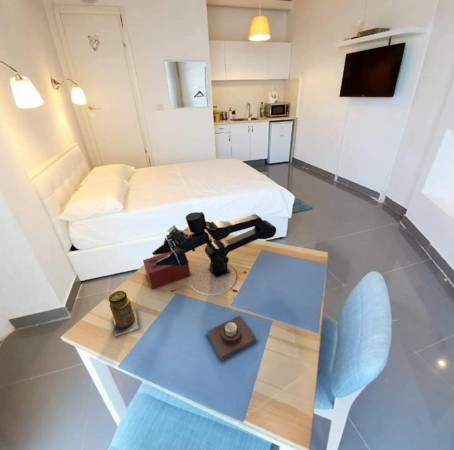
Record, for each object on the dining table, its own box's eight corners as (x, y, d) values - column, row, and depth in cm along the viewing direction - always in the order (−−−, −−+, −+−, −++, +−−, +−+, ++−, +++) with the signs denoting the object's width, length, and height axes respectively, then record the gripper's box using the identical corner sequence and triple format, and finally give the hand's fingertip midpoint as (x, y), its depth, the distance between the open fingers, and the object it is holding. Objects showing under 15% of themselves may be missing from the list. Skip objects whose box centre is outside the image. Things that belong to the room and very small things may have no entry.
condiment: (135, 310, 90) (127, 285, 84) (138, 328, 83) (130, 302, 77) (113, 318, 87) (103, 293, 81) (114, 337, 80) (104, 311, 75)
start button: (233, 324, 79) (233, 320, 78) (239, 333, 77) (238, 328, 76) (223, 329, 78) (222, 325, 77) (228, 338, 75) (228, 334, 74)
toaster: (182, 262, 114) (179, 248, 110) (190, 275, 106) (188, 259, 102) (146, 275, 107) (142, 259, 103) (152, 289, 99) (148, 273, 96)
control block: (239, 320, 85) (239, 311, 83) (256, 342, 78) (256, 333, 76) (207, 335, 80) (206, 327, 78) (221, 361, 73) (221, 353, 71)
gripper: (180, 216, 100) (142, 231, 96) (193, 230, 84) (148, 250, 80) (189, 239, 105) (153, 255, 100) (203, 257, 89) (161, 277, 84)
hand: (154, 258), depth 91 cm, fingers open, 9 cm apart
